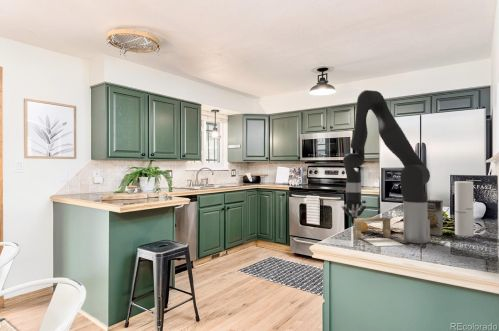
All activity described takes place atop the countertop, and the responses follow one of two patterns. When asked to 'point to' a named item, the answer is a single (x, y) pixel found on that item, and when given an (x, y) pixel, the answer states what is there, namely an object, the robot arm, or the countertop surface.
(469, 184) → the cylindrical container
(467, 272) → the countertop surface
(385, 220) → the bridge
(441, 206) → the coffee box
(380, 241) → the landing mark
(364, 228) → the ball
